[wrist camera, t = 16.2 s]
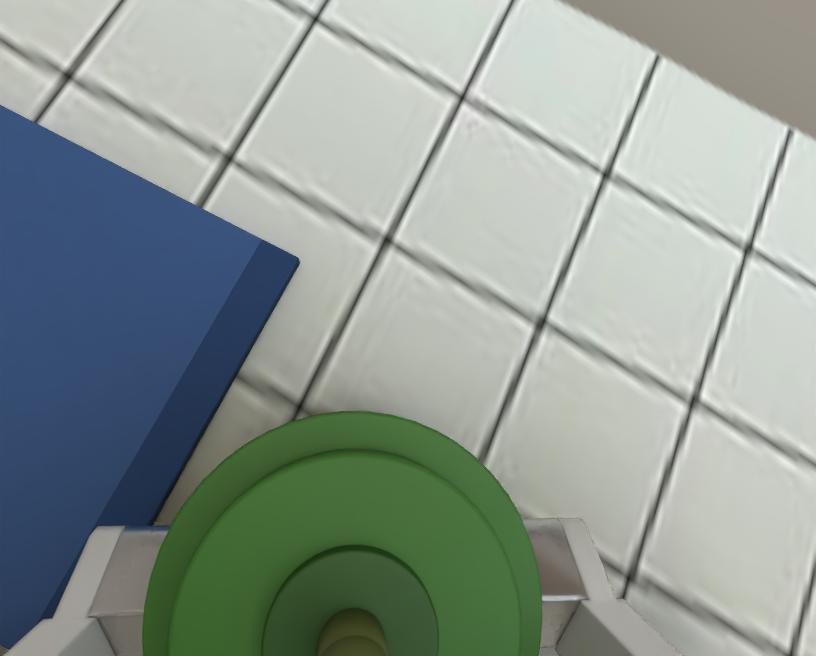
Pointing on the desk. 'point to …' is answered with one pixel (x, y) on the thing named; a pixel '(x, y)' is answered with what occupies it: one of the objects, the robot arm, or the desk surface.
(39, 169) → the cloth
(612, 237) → the desk surface
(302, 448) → the green lidded canister
